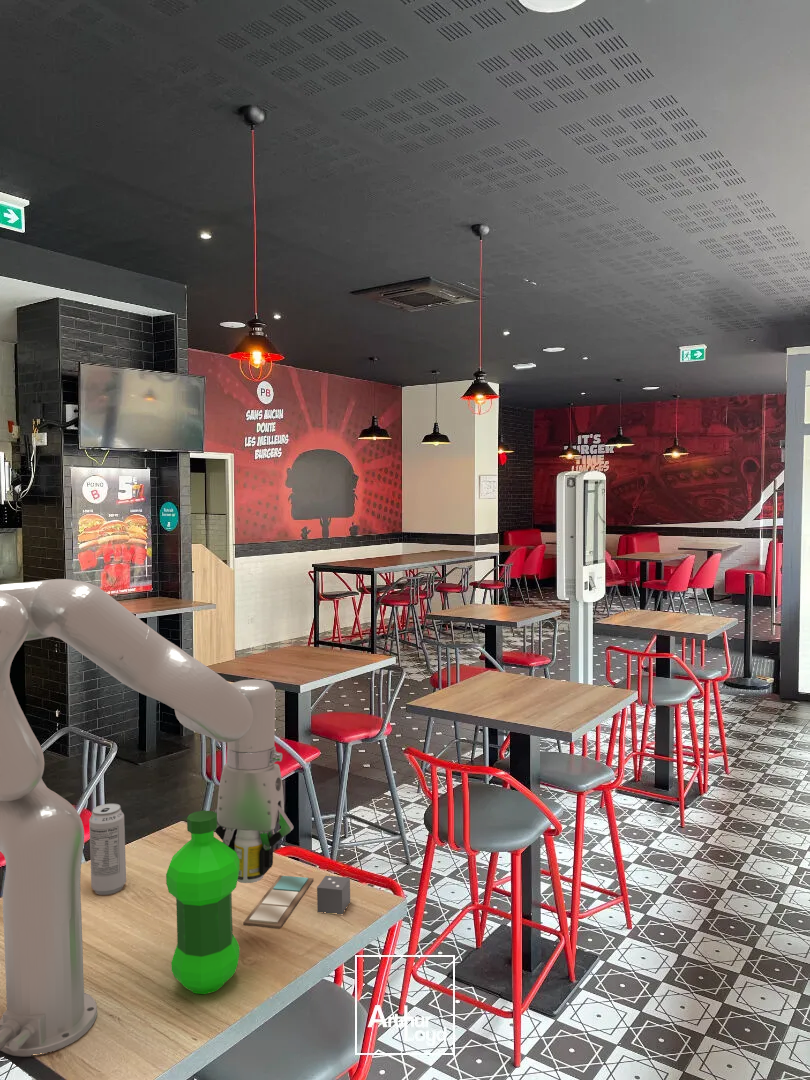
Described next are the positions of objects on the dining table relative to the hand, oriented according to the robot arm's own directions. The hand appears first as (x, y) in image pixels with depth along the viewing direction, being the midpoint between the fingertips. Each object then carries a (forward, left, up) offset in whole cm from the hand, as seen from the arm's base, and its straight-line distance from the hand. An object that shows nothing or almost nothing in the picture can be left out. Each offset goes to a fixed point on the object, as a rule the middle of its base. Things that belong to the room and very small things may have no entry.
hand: (249, 868), depth 129 cm
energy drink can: (+11, +32, -11) cm, 36 cm away
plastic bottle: (-13, +1, -11) cm, 17 cm away
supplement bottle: (0, 0, -2) cm, 2 cm away
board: (+12, -1, -11) cm, 16 cm away
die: (+11, -11, -11) cm, 19 cm away
